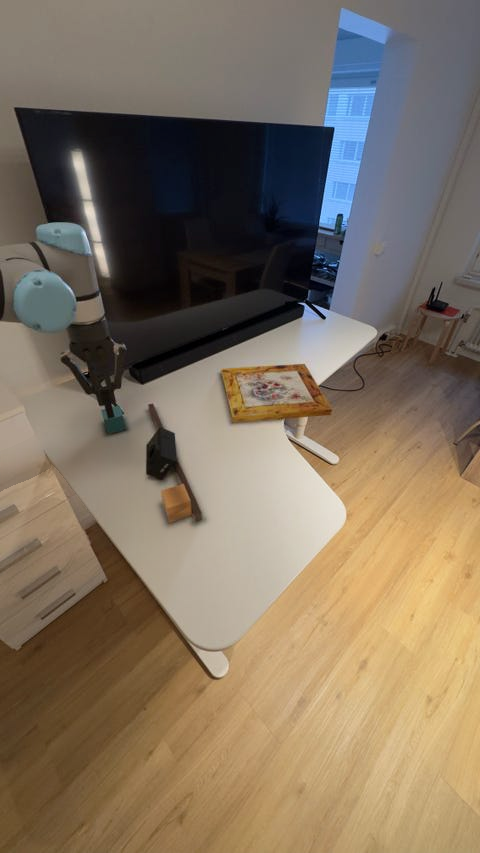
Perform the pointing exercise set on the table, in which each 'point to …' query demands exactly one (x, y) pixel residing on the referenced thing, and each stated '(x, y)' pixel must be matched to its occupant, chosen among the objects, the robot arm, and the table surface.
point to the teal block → (114, 420)
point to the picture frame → (272, 393)
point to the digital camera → (161, 453)
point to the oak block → (176, 502)
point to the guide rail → (178, 470)
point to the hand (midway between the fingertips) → (110, 414)
